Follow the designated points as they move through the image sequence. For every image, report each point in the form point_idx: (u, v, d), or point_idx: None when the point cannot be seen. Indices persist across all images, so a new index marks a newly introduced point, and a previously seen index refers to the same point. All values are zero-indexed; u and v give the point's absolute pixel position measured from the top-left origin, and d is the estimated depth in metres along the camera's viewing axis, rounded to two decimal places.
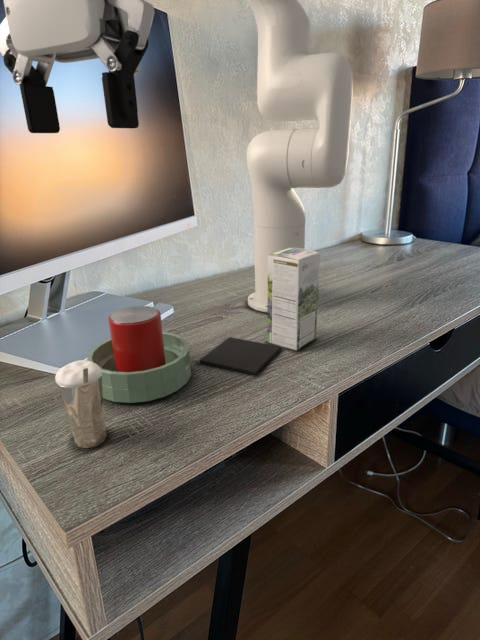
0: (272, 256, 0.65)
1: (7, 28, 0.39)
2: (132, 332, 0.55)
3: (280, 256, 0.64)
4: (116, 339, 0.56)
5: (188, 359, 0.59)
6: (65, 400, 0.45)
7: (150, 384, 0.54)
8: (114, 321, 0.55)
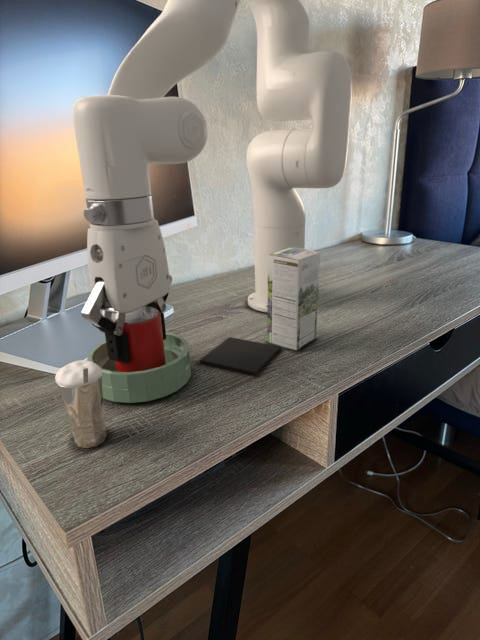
0: (272, 256, 0.65)
1: None
2: (132, 333, 0.55)
3: (280, 256, 0.64)
4: None
5: (188, 359, 0.59)
6: (65, 400, 0.45)
7: (150, 384, 0.54)
8: (114, 321, 0.55)
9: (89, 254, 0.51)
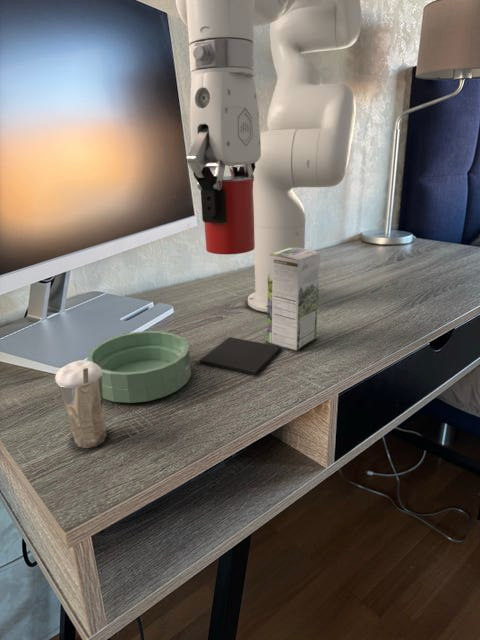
0: (272, 256, 0.65)
1: None
2: (229, 190, 0.54)
3: (280, 256, 0.64)
4: None
5: (188, 359, 0.59)
6: (65, 400, 0.45)
7: (150, 384, 0.54)
8: None
9: (193, 101, 0.50)
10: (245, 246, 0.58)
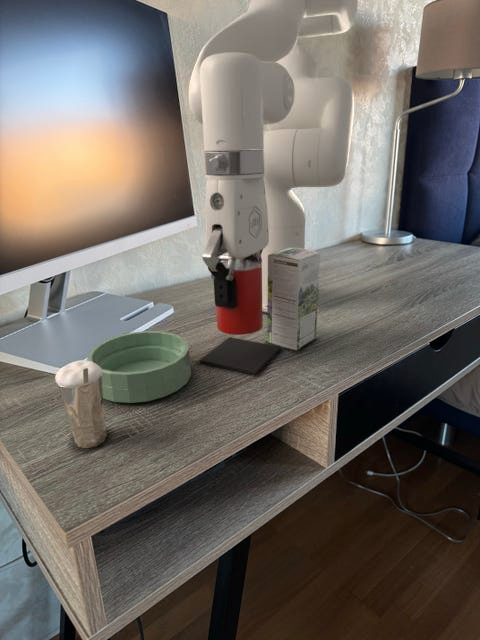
0: (272, 256, 0.65)
1: None
2: (240, 279, 0.59)
3: (280, 256, 0.64)
4: None
5: (188, 359, 0.59)
6: (65, 400, 0.45)
7: (150, 384, 0.54)
8: None
9: (208, 203, 0.55)
10: (254, 327, 0.62)
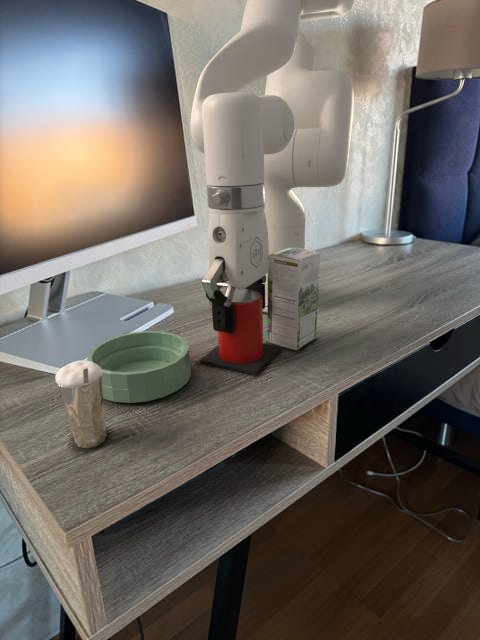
0: (272, 256, 0.65)
1: None
2: (241, 311, 0.60)
3: (280, 256, 0.64)
4: None
5: (188, 359, 0.59)
6: (65, 400, 0.45)
7: (150, 384, 0.54)
8: None
9: (211, 236, 0.57)
10: (255, 355, 0.64)
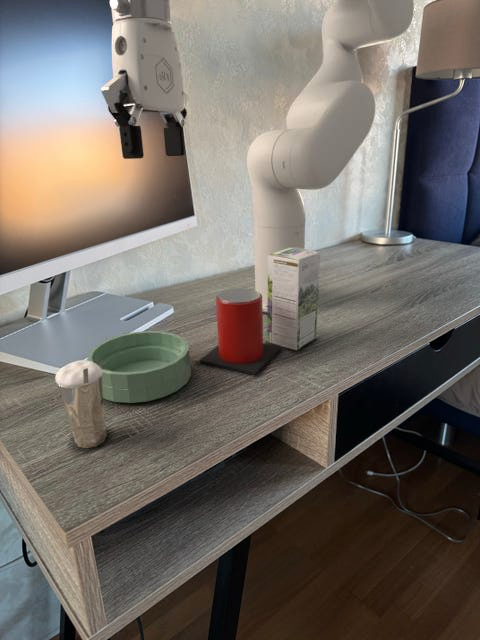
0: (272, 256, 0.65)
1: None
2: (241, 311, 0.60)
3: (280, 256, 0.64)
4: (225, 317, 0.61)
5: (188, 359, 0.59)
6: (65, 400, 0.45)
7: (150, 384, 0.54)
8: (224, 301, 0.61)
9: (113, 49, 0.56)
10: (255, 355, 0.64)
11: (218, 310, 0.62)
